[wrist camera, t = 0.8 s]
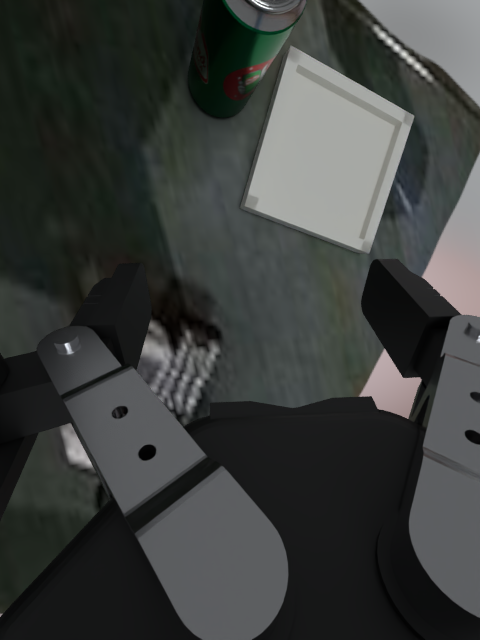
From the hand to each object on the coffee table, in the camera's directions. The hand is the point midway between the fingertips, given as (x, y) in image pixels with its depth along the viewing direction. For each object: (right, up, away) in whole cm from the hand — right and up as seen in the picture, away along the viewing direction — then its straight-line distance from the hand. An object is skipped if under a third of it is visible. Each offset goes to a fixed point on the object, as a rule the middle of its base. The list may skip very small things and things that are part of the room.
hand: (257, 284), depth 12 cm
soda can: (-2, +18, +15) cm, 23 cm away
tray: (+7, +13, +18) cm, 24 cm away
